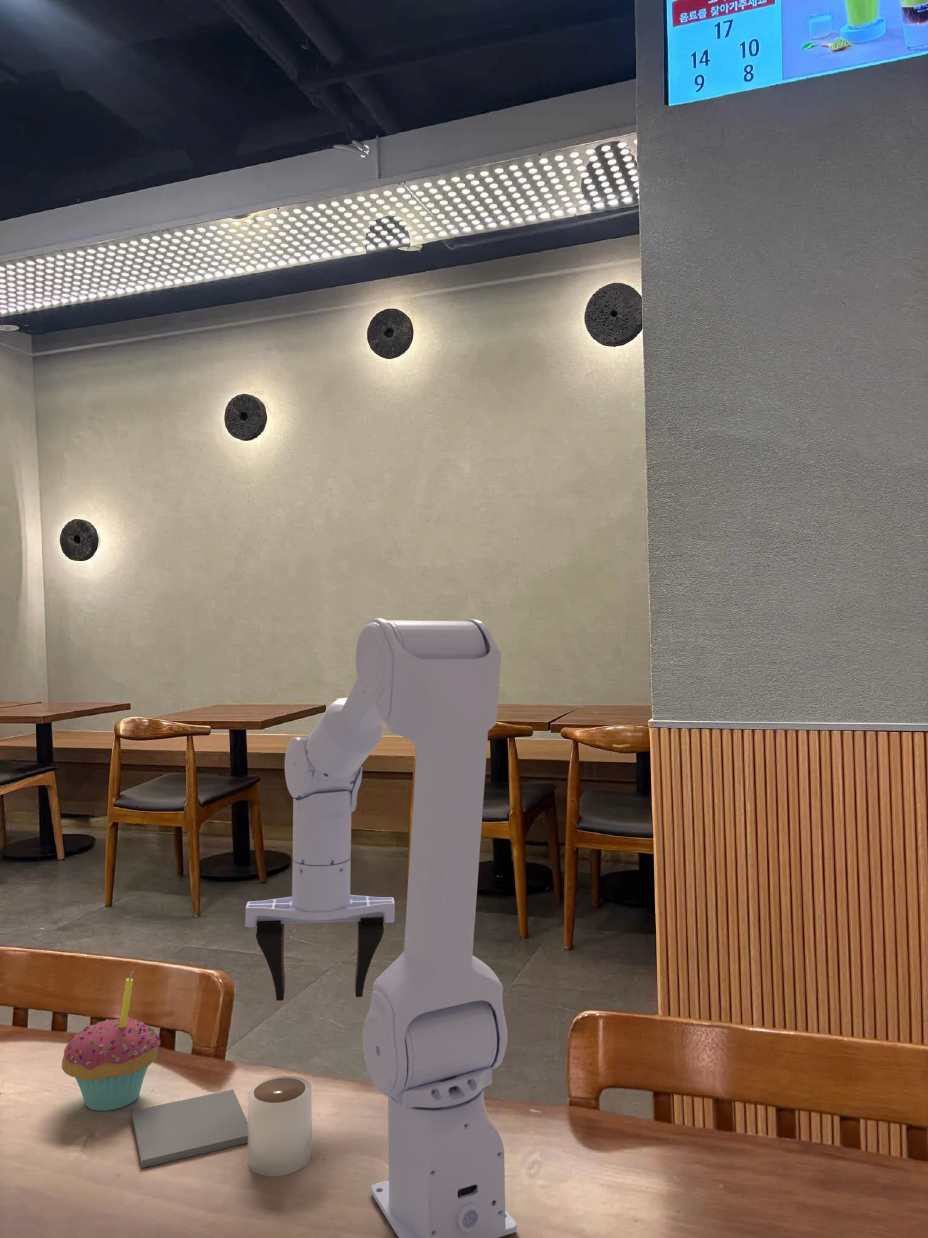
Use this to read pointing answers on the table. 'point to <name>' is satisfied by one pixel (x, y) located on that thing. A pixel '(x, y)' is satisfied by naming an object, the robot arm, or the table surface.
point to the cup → (279, 1125)
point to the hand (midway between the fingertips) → (319, 995)
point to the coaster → (189, 1127)
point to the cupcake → (111, 1058)
